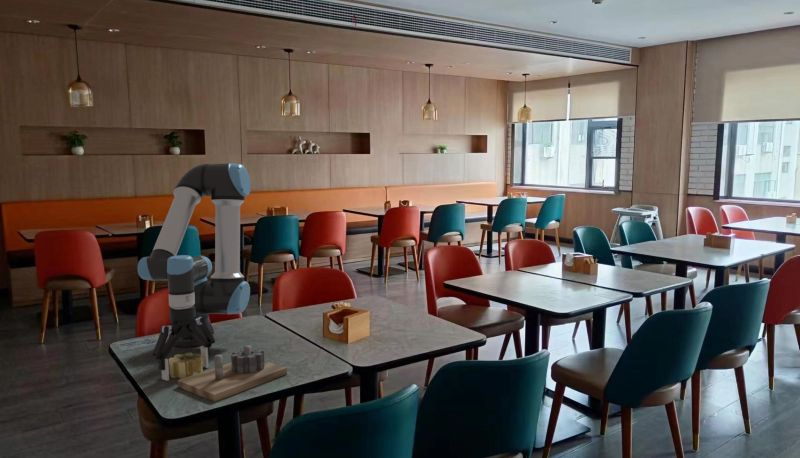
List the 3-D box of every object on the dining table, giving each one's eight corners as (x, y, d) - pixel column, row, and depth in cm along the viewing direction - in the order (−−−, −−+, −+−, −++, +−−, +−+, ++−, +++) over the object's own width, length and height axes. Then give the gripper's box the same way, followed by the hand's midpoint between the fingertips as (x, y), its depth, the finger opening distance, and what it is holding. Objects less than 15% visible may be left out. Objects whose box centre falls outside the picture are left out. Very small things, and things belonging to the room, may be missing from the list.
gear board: (177, 386, 176) (176, 357, 175) (249, 362, 196) (248, 335, 195) (215, 401, 165) (213, 370, 164) (286, 373, 186) (285, 345, 184)
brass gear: (163, 374, 186) (162, 358, 186) (191, 365, 194) (190, 350, 193) (181, 381, 181) (180, 365, 180) (208, 371, 188) (208, 356, 187)
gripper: (150, 316, 172) (154, 388, 175) (224, 300, 192) (227, 364, 194) (136, 312, 177) (141, 382, 179) (210, 297, 197) (213, 359, 199)
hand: (185, 373), depth 187 cm, fingers open, 13 cm apart
